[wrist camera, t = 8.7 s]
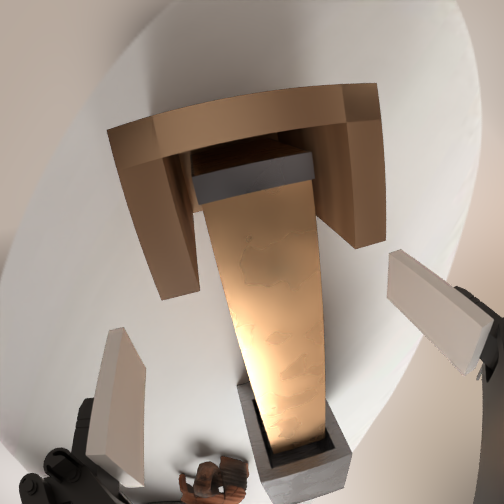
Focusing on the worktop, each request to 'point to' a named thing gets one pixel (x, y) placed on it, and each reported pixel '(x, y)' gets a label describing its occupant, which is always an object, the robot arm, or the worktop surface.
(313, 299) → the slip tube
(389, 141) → the worktop surface
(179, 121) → the brown wooden box
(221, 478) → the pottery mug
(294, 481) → the sleeve
